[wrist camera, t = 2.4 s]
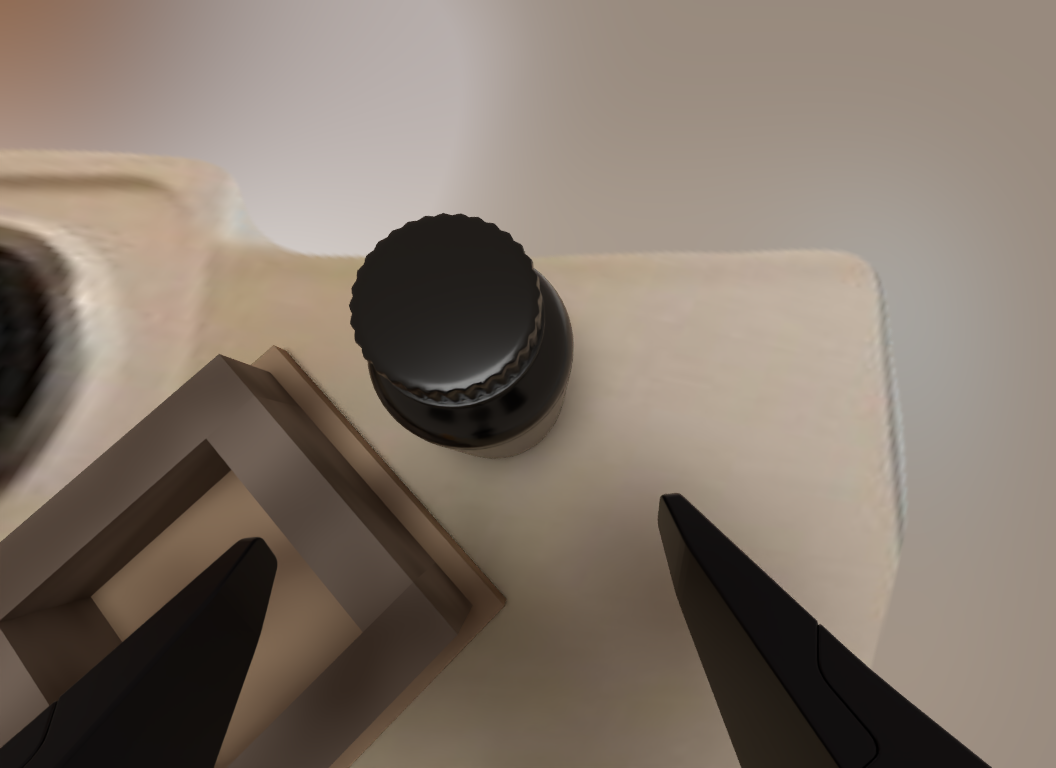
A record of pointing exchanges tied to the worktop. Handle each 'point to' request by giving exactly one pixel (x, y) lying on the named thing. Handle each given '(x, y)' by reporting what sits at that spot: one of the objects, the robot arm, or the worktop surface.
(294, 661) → the grey-brown square frame
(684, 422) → the worktop surface
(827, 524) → the worktop surface
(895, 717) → the robot arm
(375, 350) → the supplement bottle
